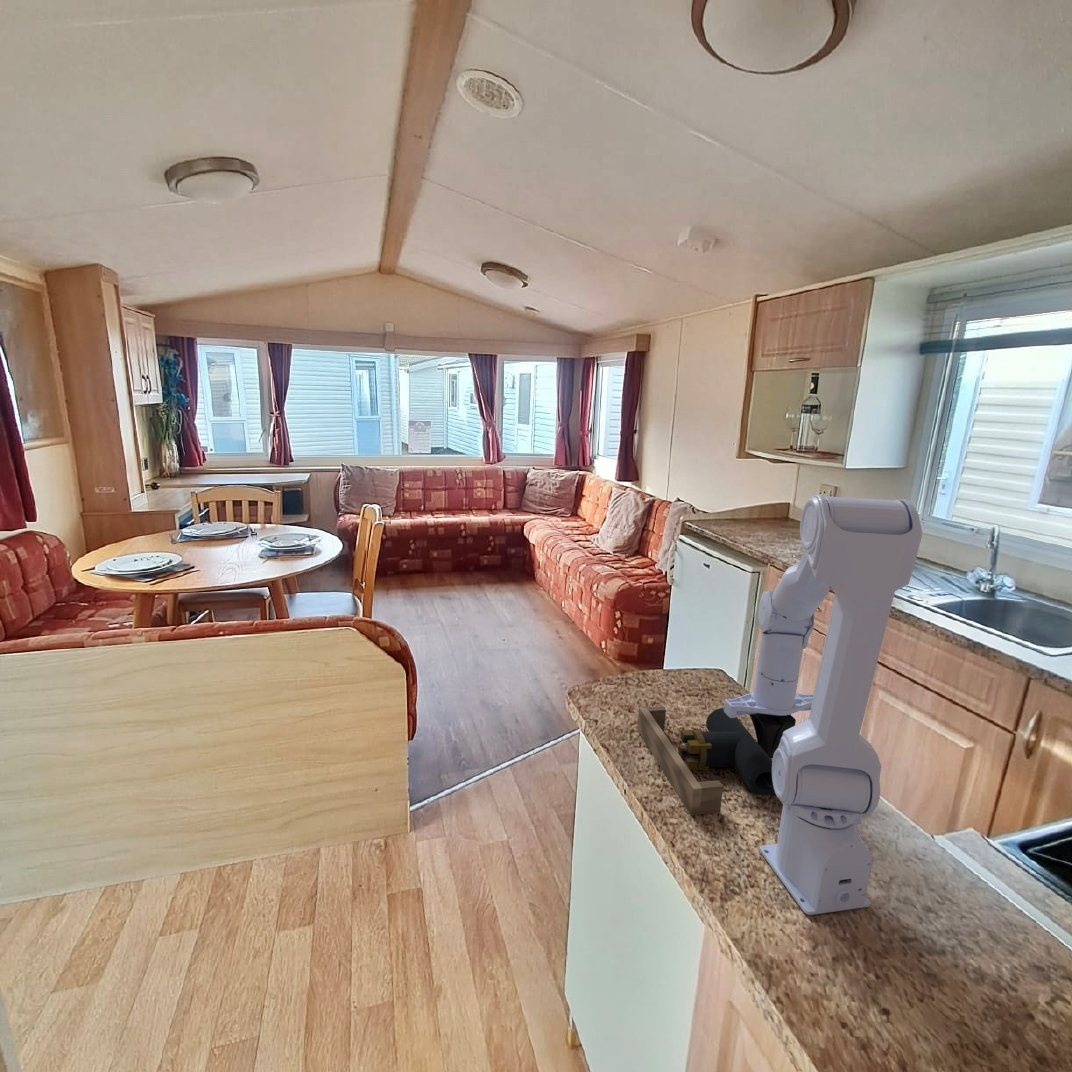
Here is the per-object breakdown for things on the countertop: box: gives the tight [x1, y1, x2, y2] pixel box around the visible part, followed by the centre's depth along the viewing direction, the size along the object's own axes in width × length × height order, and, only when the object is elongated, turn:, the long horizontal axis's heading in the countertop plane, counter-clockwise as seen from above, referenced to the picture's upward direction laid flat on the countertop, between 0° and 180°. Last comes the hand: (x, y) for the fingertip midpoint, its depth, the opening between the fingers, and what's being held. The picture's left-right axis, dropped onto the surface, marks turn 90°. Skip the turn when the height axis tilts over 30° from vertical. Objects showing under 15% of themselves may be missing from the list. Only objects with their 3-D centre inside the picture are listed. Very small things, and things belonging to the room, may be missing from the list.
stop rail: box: [636, 705, 724, 816], centre depth 85 cm, size 20×4×4 cm, turn 10°
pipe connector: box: [677, 707, 776, 796], centre depth 87 cm, size 12×5×15 cm
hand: (765, 754), depth 87 cm, fingers closed
